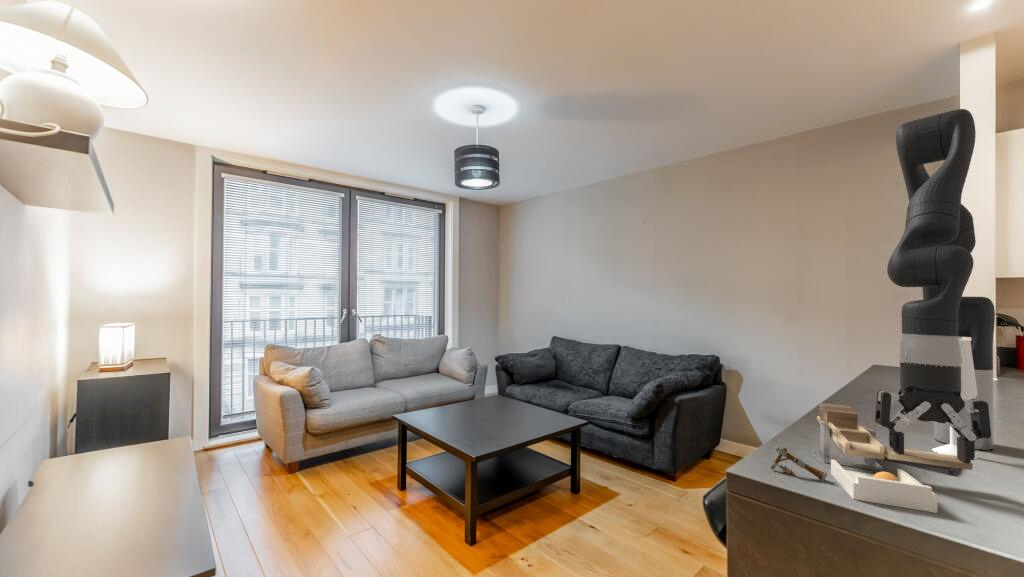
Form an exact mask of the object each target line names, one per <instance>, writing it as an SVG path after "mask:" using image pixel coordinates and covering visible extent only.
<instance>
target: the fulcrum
mask: <svg viewBox="0 0 1024 577" xmlns="http://www.w3.org/2000/svg"><path fill="white" fill-rule="evenodd" d="M819 425H820V426H819V428H820V431H819V432H820V433H819V439H820V440H819V444H820V445H819V449H814V453H815V455H817V456H818V458H819V459H820V460H821V461H822V462H823V463H826V464H831V460H835V461H836V462H837V463H838V464H839V465H840V466H847V467H853V468H860V469H867V470H876V471H879V472H884V471H883V470H884V467H883V466H881V465H880V464H879V463H878V462H877V460H876V459H877V458H870V457H862V456H855V455H847V454H844V453H843V452H835V451H830V439H831V437H830V426H828V425H827V424H826V423H819ZM864 428H865V429H866V430H867V431H868V432H869V433H870V434H871V435H872V436H873V437H874V438H875V439H876V436H877V434H876V432H877V431H875V430H873V429H872V428H870V427H864ZM876 440H877V439H876Z"/></svg>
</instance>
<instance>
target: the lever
mask: <svg viewBox="0 0 1024 577" xmlns="http://www.w3.org/2000/svg"><path fill="white" fill-rule="evenodd" d="M858 417H859V416H858V413H857V412H856V411H855V410H854V409H853V408H851V406H849V405H844V404H842V405H841V404H831V403H824V402H823V403H821V402H819V415H817V416H816V421H817V422H818V423H819V424H820V423H826V424H827V425H828V426H830V439H831V440H833V441H834V443H835V444H836V445H837V446H838V447H839V449H840V450H841V451H842V453H844V454H847V455H855V456H862V457H870V458H876V459H879V460H883V459H884V455H885V456H886V457H887V458H888V459H893V460H901V461H908V462H916V463H923V464H931V465H938V466H946V467H953V468H958V469H962V470H968V471H969V470H970V471H973V467H974V465H973V463H972V462H970V463H963V462H961V461H960V460H958V458H957V456H956V455H948V454H940V453H936V452H933V451H932V452H931V451H929V452H928V451H924V450H922V451H921V450H917V449H916V450H914V449H909V448H908V449H907V448H906V449H905V448H904V454H903V455H902V454H897V453H896V452H894V450H893V449H892V448H891V447H890V446H886V447H884V446H885V445H883V444H882V443H881V442H879V440H878V439H875V438H874V437H873V436H872V435H871V434H870V433H869V432H868V431H867V430H866V429H865V428H866V427H864V426H863V425H858V420H859V419H858Z"/></svg>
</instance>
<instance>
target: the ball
mask: <svg viewBox="0 0 1024 577" xmlns="http://www.w3.org/2000/svg"><path fill="white" fill-rule="evenodd" d="M873 478H879V479H885V480H892V481H899V482H900V480H899V479H898V478H897V476H896V475H894V474H893V473H891V472H888V471H877V472H876V473H875V474H874V476H873Z"/></svg>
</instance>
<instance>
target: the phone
mask: <svg viewBox="0 0 1024 577" xmlns="http://www.w3.org/2000/svg"><path fill="white" fill-rule="evenodd" d="M883 446H884V447H887V446H885V445H883ZM883 460H885V461H889V462H892V463H897V464H901V465H905V466H910V467H913V468H917V469H922V470H926V471H931V472H935V473H939V474H942V475H947V476H955V475H956V473H957V471H958V469H959V468H953V467H946V466H938V465H931V464H923V463H916V462H908V461H901V460H893V459H888V458H887V457H886V456H885V455H884V459H882V461H883Z"/></svg>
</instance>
